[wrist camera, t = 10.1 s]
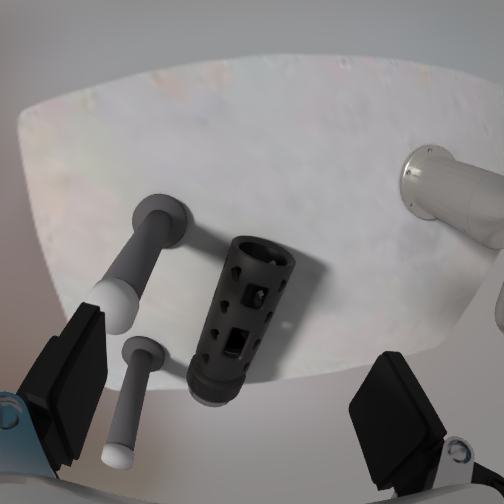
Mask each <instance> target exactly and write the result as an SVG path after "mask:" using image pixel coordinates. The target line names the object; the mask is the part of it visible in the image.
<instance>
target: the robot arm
mask: <svg viewBox="0 0 504 504" xmlns="http://www.w3.org/2000/svg"><path fill="white" fill-rule="evenodd" d="M400 192H401V196H402V200H403V202H404V204H405V206H406V207H407V209H408V210H409V211H410V212H411V213H412V214H414V215H415V216H417V217H419V218H421V219H426V220H431V219H436V218H439V219H441V220H443V221H444V222H446V223H448V224H449V225H451V226H453V227H454V228H456V229H458V230H459V231H461V232H463V233H464V234H466V235H468V236H469V237H471V238H472V239H474V240H475V241H477V242H478V243H480V244H482V245H483V246H485V247H488V248H491V249H503V248H504V176H503V175H500V174H497V173H494V172H491V171H488V170H485V169H482V168H479V167H476V166H473V165H469V164H466V163H463V162H459V161H456V160H455V158H454V157H453V155H452V154H451V153H450V152H449V151H447V150H446V149H445V148H442V147H440V146H436V145H426V146H422V147H420V148H418V149H417V150H415V151H414V152H413V153H412V154H411V155H410V156H409V158H408V159H407V161H406V162H405V164H404V166H403V169H402V172H401V177H400ZM495 321H496V324H497V326H498V327H499V329H500V331H501V332H502V333H503V334H504V282H503V285H502V288H501V291H500V294H499V297H498V300H497V303H496V307H495ZM107 374H108V368H107V352H106V326H105V312H102V311H100V307H99V306H97V305H93V304H89V303H85V302H82V303H81V304H80V306H79V307H78V309H77V310H76V312H75V313H74V315H73V316H72V318H71V319H70V321H69V322H68V324H67V325H66V327H65V328H64V330H63V331H62V333H61V334H60V336H59V337H58V336H52V337H51V338H50V339H49V341H48V342H47V344H46V345H45V347H44V349H43V350H42V352H41V353H40V355H39V356H38V358H37V359H36V361H35V363H34V365H33V366H32V368H31V369H30V371H29V372H28V374H27V376H26V377H25V379H24V381H23V382H22V384H21V386H20V388H19V389H18V391H17V393H16V394H14V393H11V392H6V391H2V392H0V504H163V503H157V502H151V501H146V500H141V499H136V498H131V497H127V496H122V495H118V494H114V493H110V492H106V491H102V490H98V489H95V488H91V487H87V486H83V485H79V484H75V483H72V482H68V481H64V480H60V478H59V476H58V474H57V471H58V470H60V467H61V465H62V464H64V465H67V466H70V467H71V464H72V461H73V459H75V460H78V459H79V457H80V454H81V451H82V448H83V445H84V442H85V439H86V436H87V433H88V430H89V427H90V424H91V421H92V418H93V415H94V412H95V410H96V407H97V404H98V401H99V399H100V396H101V393H102V391H103V388H104V385H105V383H106V380H107ZM349 414H350V417H351V420H352V423H353V426H354V428H355V431H356V434H357V437H358V440H359V443H360V446H361V449H362V452H363V455H364V458H365V461H366V464H367V467H368V470H369V473H370V476H371V479H372V481H373V483H374V484H376V485H377V488H378V491H380V490H385V489H390V488H391V487H394V490H395V491H394V493H393V495H392V497H391V499H389V500H383V501H378V502H373V503H367V504H504V478H503V477H502V476H500V475H499V474H497V473H495V472H493V471H491V470H489V469H487V468H485V467H483V466H481V465H480V464H478V463H476V462H474V451H473V449H472V447H471V446H470V444H469V443H468V442H467V441H465V440H464V439H462V438H460V437H455V436H453V437H449V438H448V439H447V440H445V441H444V439H443V437H444V436H445V435H446V434H447V431H446V429H445V428H444V426H443V424H442V422H441V420H440V419H439V417H438V415H437V413H436V411H435V410H434V408H433V406H432V404H431V403H430V401H429V399H428V398H427V396H426V394H425V392H424V391H423V389H422V387H421V386H420V384H419V382H418V380H417V379H416V377H415V375H414V374H413V372H412V370H411V369H410V367H409V365H408V364H407V362H406V361H405V359H404V357H403V356H402V354H401V353H400V352H393V351H385V352H383V353H382V355H379V356H378V358H377V359H376V361H375V363H374V365H373V366H372V368H371V370H370V372H369V373H368V375H367V377H366V378H365V380H364V382H363V384H362V385H361V387H360V388H359V390H358V392H357V393H356V395H355V396H354V398H353V399H352V401H351V403H350V404H349Z"/></svg>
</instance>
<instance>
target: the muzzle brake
mask: <svg viewBox="0 0 504 504" xmlns="http://www.w3.org/2000/svg"><path fill="white" fill-rule="evenodd" d="M273 260H274V261H275V262H276V265H272V264H270V263H269V262H271V261H273ZM295 263H296V262H295V259H294V258H293V256H292V255H291V254H290V253H289V252H288V251H286V250H285V249H284V248H282V247H280V246H278V245H276V244H274V243H272V242H270V241H267V240H264V239H261V238H257V237H253V236H238V237H235V238H234V239H233V240H232V243H231V246H230V249H229V252H228V255H227V258H226V261H225V264H224V267H223V270H222V273H221V276H220V279H219V282H218V285H217V288H216V291H215V294H214V297H213V300H212V303H211V306H210V309H209V312H208V315H207V318H206V321H205V324H204V327H203V330H202V333H201V336H200V340H199V343H198V346H197V349H196V354H195V355H194V356H193V357H192V359H191V362H190V365H189V369H188V372H187V376H186V377H187V383H188V388H189V392H190V393H191V395H192V397H193V398H194V399H195V400H196V401H198V402H199V403H201V404H203V405H205V406H209V407H220V406H223V405H226V404H227V403H228V402H229V401H231V400H233V399H234V398H235V397H236V396H237V395H238V393H239V391H240V389H241V387H242V385H243V383H244V381H245V378H246V372H247V370H248V368H249V366H250V364H251V362H252V360H253V358H254V356H255V354H256V351H257V349H258V347H259V345H260V343H261V341H262V338H263V336H264V334H265V332H266V330H267V327H268V325H269V323H270V321H271V318H272V316H273V314H274V312H275V310H276V307H277V305H278V303H279V301H280V298H281V296H282V294H283V291H284V289H285V287H286V285H287V282H288V280H289V278H290V275H291V273H292V271H293V268H294V266H295ZM260 290H262V291H263V292H264V295H263V296H262V299H260V296H259V293H258V291H260Z"/></svg>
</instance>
